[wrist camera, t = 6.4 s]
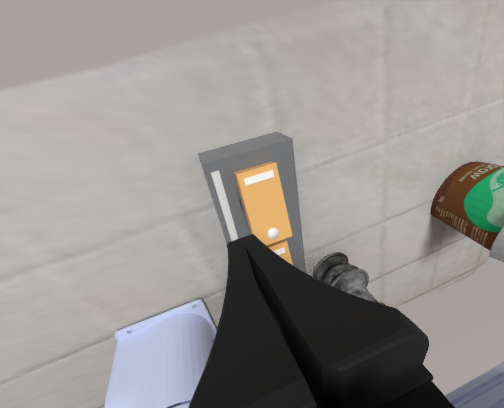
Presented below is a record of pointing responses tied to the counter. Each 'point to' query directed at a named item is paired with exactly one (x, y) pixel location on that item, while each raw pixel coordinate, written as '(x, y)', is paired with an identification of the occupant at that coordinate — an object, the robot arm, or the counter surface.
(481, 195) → the food container
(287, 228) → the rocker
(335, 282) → the salt shaker
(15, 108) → the counter surface
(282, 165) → the rocker switch panel
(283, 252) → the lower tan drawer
